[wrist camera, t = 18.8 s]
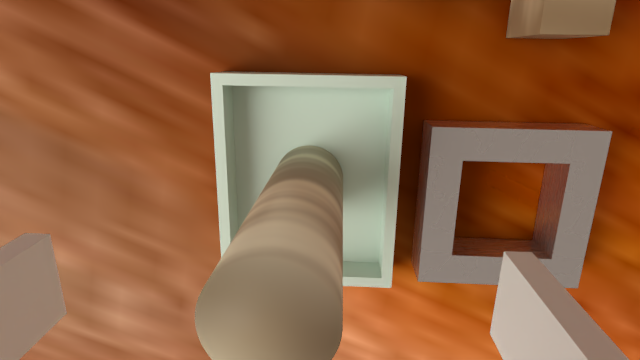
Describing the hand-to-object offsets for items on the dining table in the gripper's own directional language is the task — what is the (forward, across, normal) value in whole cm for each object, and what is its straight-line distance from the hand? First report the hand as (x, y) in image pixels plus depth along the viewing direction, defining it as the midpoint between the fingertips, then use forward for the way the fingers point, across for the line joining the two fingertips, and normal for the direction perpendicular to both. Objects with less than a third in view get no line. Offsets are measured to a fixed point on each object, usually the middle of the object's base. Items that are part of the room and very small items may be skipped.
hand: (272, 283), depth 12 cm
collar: (+13, +11, -2) cm, 17 cm away
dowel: (+13, 0, -1) cm, 13 cm away
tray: (+13, 0, -1) cm, 13 cm away
